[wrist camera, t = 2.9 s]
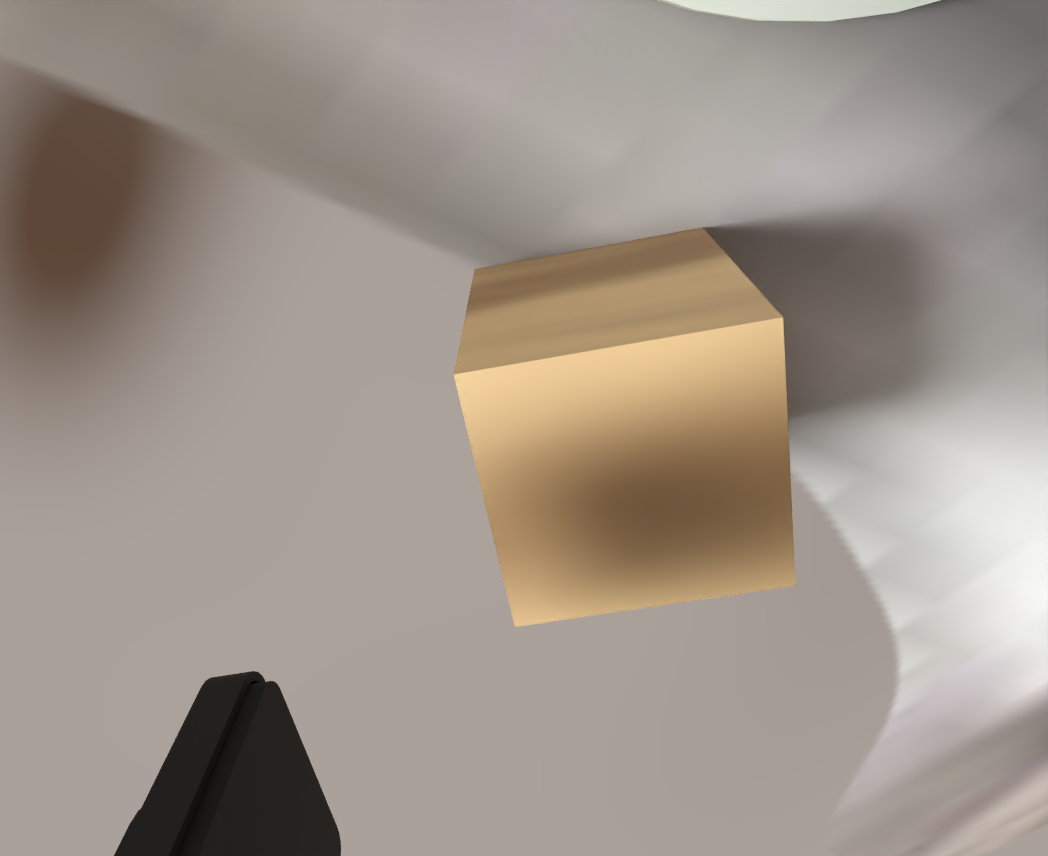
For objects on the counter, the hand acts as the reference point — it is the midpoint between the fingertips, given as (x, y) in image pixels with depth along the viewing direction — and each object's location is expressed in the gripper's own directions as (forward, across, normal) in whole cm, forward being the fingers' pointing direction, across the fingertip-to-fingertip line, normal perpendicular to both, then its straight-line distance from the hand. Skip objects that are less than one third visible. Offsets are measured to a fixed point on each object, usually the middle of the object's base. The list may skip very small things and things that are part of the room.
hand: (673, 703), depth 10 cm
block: (+10, 0, -1) cm, 10 cm away
